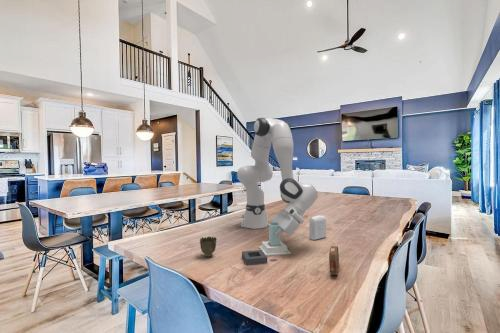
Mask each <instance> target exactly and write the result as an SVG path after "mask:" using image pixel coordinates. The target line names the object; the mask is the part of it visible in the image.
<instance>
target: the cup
mask: <svg viewBox="0 0 500 333" xmlns="http://www.w3.org/2000/svg"><path fill="white" fill-rule="evenodd" d="M217 240H218V238H217V237H216V236H215V237H214V236H207V237H206V236H205V237H200V238H199V243H200V250H201V252H202V253H203V256H204V257H205V258H211V257H212V256H213V253H214V252H215V251H216V248H217V247H216V246H217Z"/></svg>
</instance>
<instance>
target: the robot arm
mask: <svg viewBox="0 0 500 333" xmlns="http://www.w3.org/2000/svg"><path fill="white" fill-rule="evenodd" d="M291 129H292V128H291V124H290V123H289V122H288V121H286V120H282V119H276V118H270V117H269V118H266V117H259V118H256V120H255V121H254V123H253V132H254V138H253V143H252V145H251V146H252V147H251V151H250V156H251V158H252V159H253V160H254V165H245V166H241V167H239V169H237V172H236V177H237V179H238V181H239V182H240V183H241V184H242V186H243V187H244V189H245V193H246V194H245V195H246V204H245V211H244V213H243V214H241V220H240V227H241V228H247V229H254V230H255V229H256V230H257V229H265V228H267V227H269V224H270V222H268V212H267V211H265V209H266V208H265V207H266V205H265V193H264V191H263V189H261V188H260V186H259V184H258V183H265V182H268V181H271V179H272V178H273V174H274V173H273V172H274V171H273V169H272V167H271V166H270V165H269V156H270V151H271V148H272V149H273V152H274V156H275V158H276V160H277V163H278V165H279V169H280V176H281V182H280V184H279V192H280V197H281V200H282V201H283V202H284V203H286V204H287V205H285V206H284V207H283V209H281V210H279V211H278V212H277V213H276V214H275V215H274V216H273V217H272V219H271V222H278V226H279V227H280V228H279V230H278V231H277V232H275V233H274V234H273V235H274V236H275V237H278V236H279V235H282V234H284V233H285V234H287V235H289V236H290V235H292V234H293V233H294V232H296V231H297V229H298V228H299V226H301V224H303V223H304V222H305V221H304V220H305V219H304V218H303V216H304V215H305V214H306V211H307V210H309V209H310V208H311V207H312V206H313V205H314V203H315V202H316V200H317V199H318V194H319V193H318V191H317V190H316V188H315V186H313V185H312V184H310V183H304V182H301V181H298V180H295V178H294V173H293V172H294V171H293V159H294V151H295V150H294V145H295V144H294V138H293V134H292V131H291Z"/></svg>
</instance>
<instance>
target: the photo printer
mask: <svg viewBox="0 0 500 333" xmlns="http://www.w3.org/2000/svg"><path fill="white" fill-rule="evenodd" d="M308 236H309V240H312V241H315V240H320V239H325V238H326V237H327V218H326V216H324V215H321V214H318V215H315V216H312V217H310V219H309V234H308Z"/></svg>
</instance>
